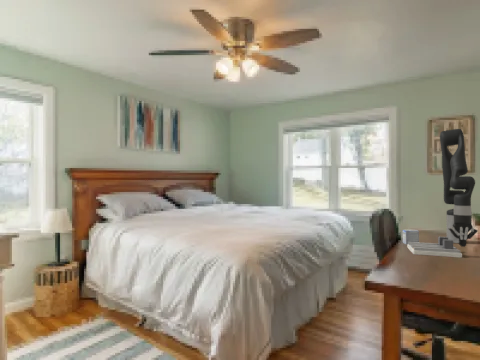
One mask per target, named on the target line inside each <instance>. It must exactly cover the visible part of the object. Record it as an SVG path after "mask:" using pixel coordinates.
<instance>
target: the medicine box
mask: <svg viewBox="0 0 480 360" xmlns="http://www.w3.org/2000/svg"><path fill="white" fill-rule="evenodd" d="M409 242H420V231H419V230H418V229H402V243H403V244H404V245H407V244H409Z"/></svg>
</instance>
